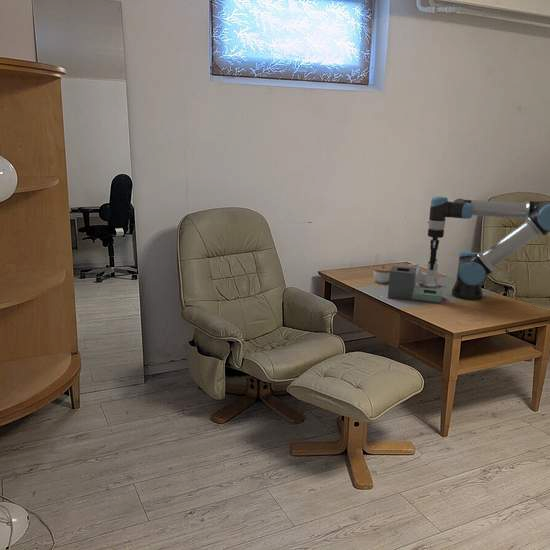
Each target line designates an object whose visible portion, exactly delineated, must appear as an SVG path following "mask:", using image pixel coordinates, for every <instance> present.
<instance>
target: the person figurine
mask: <svg viewBox="0 0 550 550" xmlns="http://www.w3.org/2000/svg"><path fill="white" fill-rule="evenodd" d="M407 266H408V267H409V268H412V267H415V268H416V279H415V285H416V284H421V285H429V283H426V279H427V272H423V271H422V268H421V267H420V265H419V263H412V264H408V265H407ZM438 276H439V274H438V270H437V271H436V275H435V283H434V285H435V286H436V287H441V284H439V283H438V278H439V277H438Z"/></svg>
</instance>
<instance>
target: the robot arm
mask: <svg viewBox="0 0 550 550" xmlns="http://www.w3.org/2000/svg"><path fill="white" fill-rule="evenodd" d="M430 201H431V202H430V207H429V217H428V221H427V223H428V229H427V236H428V237H429V238H432V239H430V255H429V256H430V259H429V260H430V262H428V261H427V264H428V263H429V273H428V276H434V270H435V261H437V262H438V259H437V251H438V250H439V249H438V248H439V243H440V240H439V239H442V238H443V237H444V234H445V226H446V218H453V219H463V220H465V219H469V220H470V219H471V218H472V217H473V216H480V217H494V218H495V217H497V218H510V219H511V218H512V219H523V220H524V222H523V223H521V224H520V225H519V226H518V227H516V228H515V229H513V230H512V231H510V232H509V233H507V234H506V235H505V236H504V237H502V238H501V239H499V240H498V241H497V242H495V243H494V244H492V245H491V246H490V247H488V248H487V249H485V250H484V251H483V252H475V251H474V252H472V251H462V252H460V253H459V256H458V266H457V275H456V281H455V283H454V285H453V287H452V289H451V295H452V297H454V298H457V299H462V300H467V301H469V300H470V301H478V300H482V298H483V295H484V294H483V290H482V288H483V287H482V285H481V284H482V283H483V282H484V280H485V279H486V277H488V276H489V275H490V274H491V273H493V271H494V268H495V267H496V266H498V265H499V264H500V263H502V262H503V261H504V260H506V259H507V258H509V257H510V256H512V255H513V254H514V253H516V252H517V251H519V250H521V248H523V247H524V246H526V245H527V244H528V243H530V242H531V241H533V240H535V239H536V238H537V237H544V236H546V235H547V234H549V233H550V200H534V201H533V200H527V201H526V202H518V201H517V202H514V201H496V200H477V199H464V198H456V199H454V200H453V201H449V199H448V198H447V196H446V197H445V196H433V197H432V198H431V200H430Z"/></svg>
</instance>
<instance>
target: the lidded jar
mask: <svg viewBox="0 0 550 550" xmlns="http://www.w3.org/2000/svg"><path fill="white" fill-rule="evenodd" d="M391 268H392V266H391V267H390V266H385V265H384V264H383V265H378V266H374V267H373V270H372V271H373V277H374V280H375V281H376V282H377V283H379V284H387V283H389V276H390V270H391Z"/></svg>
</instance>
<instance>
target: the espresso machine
mask: <svg viewBox="0 0 550 550" xmlns="http://www.w3.org/2000/svg"><path fill="white" fill-rule="evenodd" d="M416 270H417V268H416V267H407V266H397V265H392V266H391V270H390V276H389V281H388V289H387V290H388V291H387V299H393V300H394V299H395V300H403V301H410V302H419V303H420V302H421V303H426V304H434V305H435V304H438V305H442V301H443V292H444V290H443V289H437V288H436V289H435V288H428V287H420V286H416V284H415V279H416Z"/></svg>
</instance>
